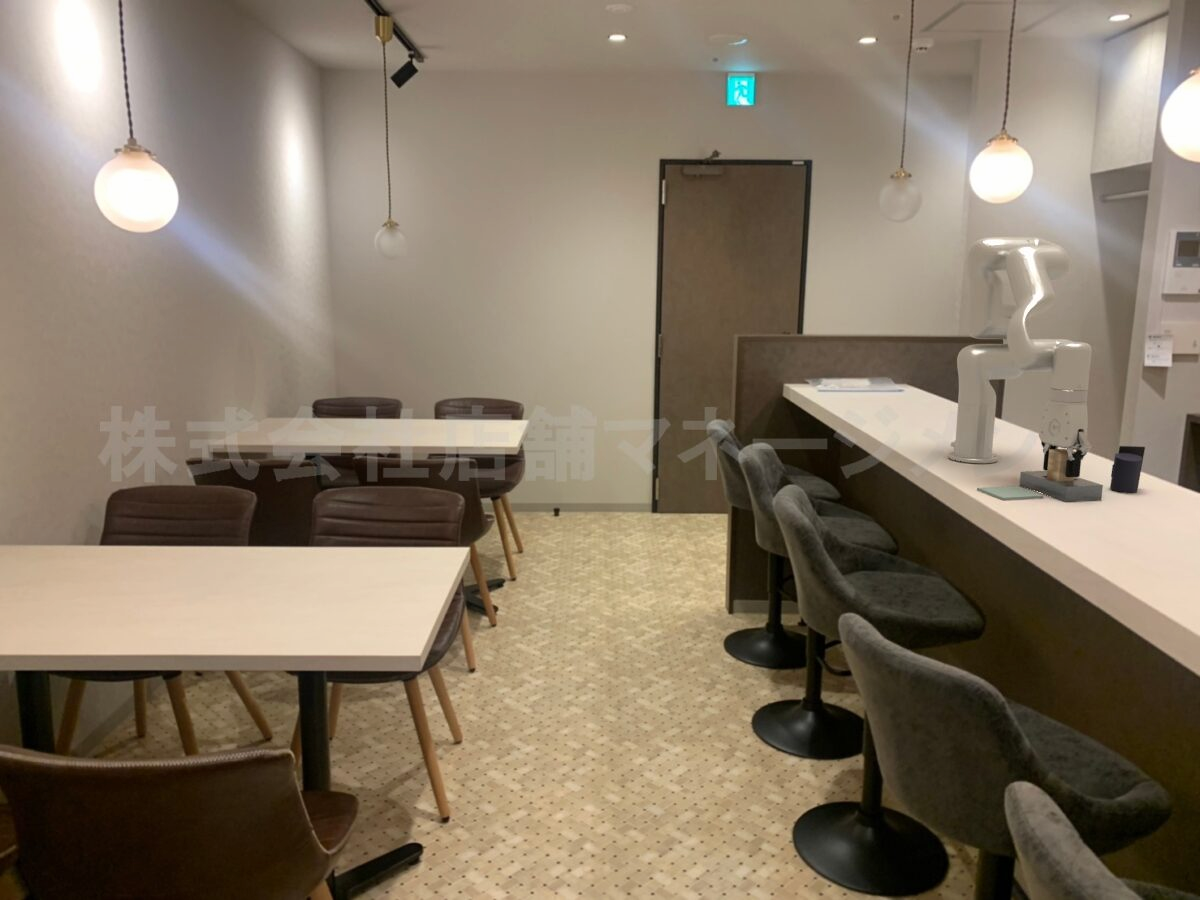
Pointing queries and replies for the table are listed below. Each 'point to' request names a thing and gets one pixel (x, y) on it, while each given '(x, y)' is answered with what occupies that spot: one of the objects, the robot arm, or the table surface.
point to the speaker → (1127, 469)
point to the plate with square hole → (1061, 487)
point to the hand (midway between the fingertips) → (1060, 472)
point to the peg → (1058, 465)
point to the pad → (1009, 492)
